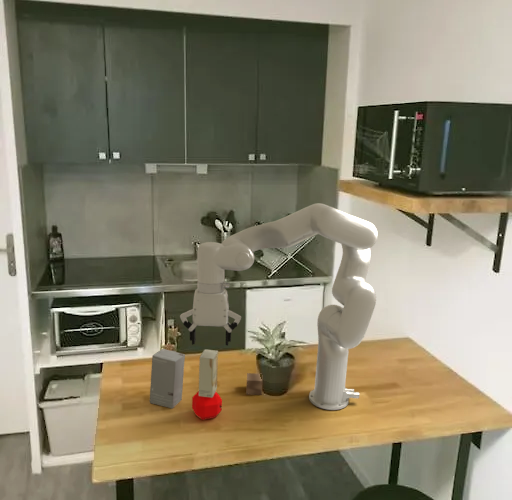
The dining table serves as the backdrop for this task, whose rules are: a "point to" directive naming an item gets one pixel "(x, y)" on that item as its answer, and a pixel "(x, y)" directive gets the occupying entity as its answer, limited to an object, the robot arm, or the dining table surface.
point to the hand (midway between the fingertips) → (210, 343)
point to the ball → (206, 406)
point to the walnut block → (254, 384)
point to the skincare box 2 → (208, 373)
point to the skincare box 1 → (167, 378)
